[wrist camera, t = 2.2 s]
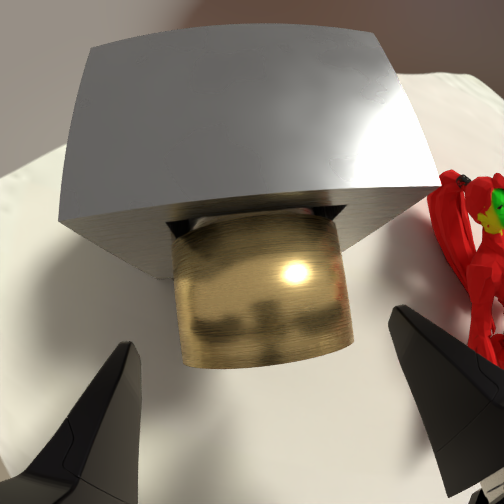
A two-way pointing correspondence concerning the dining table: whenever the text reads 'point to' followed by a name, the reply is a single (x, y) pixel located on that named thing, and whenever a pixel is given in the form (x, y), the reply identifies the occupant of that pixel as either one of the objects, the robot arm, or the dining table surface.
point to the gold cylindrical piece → (260, 289)
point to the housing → (238, 136)
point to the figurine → (464, 253)
